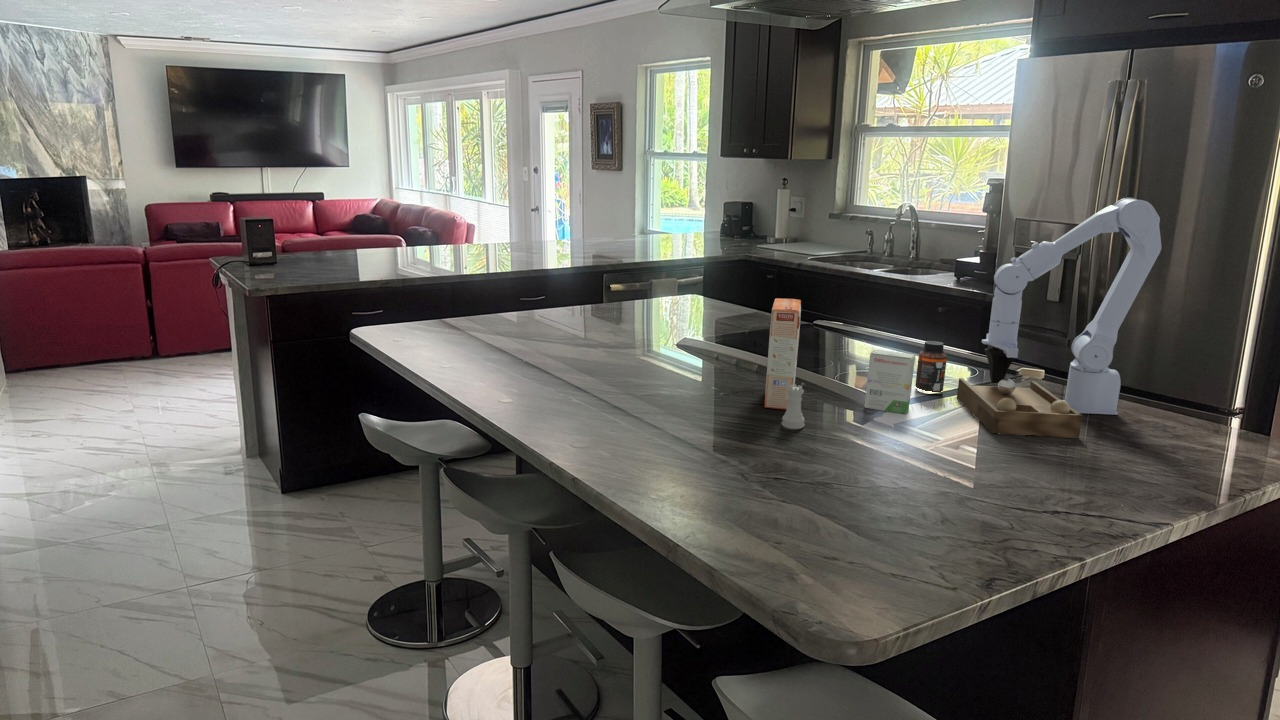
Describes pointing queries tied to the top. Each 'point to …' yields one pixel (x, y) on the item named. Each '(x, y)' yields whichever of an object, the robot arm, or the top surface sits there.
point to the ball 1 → (1006, 405)
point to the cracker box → (782, 351)
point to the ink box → (889, 381)
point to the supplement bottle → (931, 367)
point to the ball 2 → (1060, 407)
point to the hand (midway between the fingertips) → (996, 382)
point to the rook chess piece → (794, 409)
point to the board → (1019, 411)
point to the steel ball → (1006, 386)
